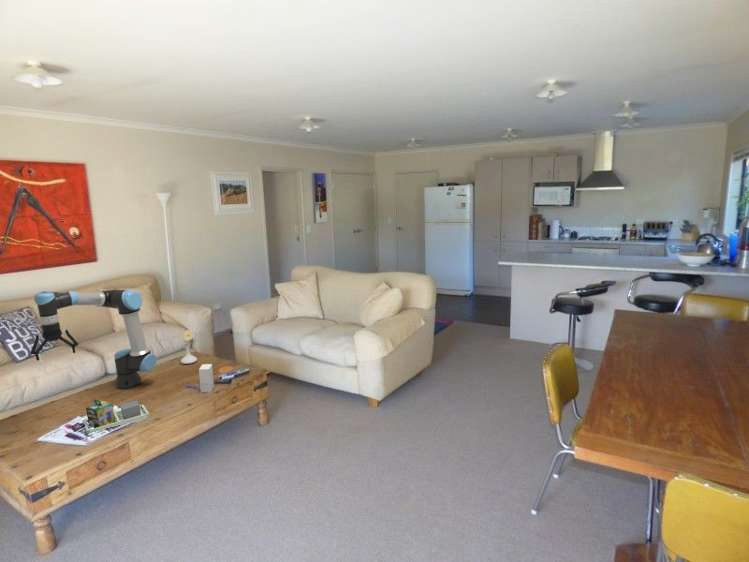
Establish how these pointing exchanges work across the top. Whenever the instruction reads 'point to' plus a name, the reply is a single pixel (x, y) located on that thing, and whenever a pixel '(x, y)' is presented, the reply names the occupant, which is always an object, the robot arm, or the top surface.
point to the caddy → (143, 416)
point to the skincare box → (206, 378)
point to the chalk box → (100, 413)
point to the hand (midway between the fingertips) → (57, 362)
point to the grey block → (130, 410)
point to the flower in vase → (188, 357)
